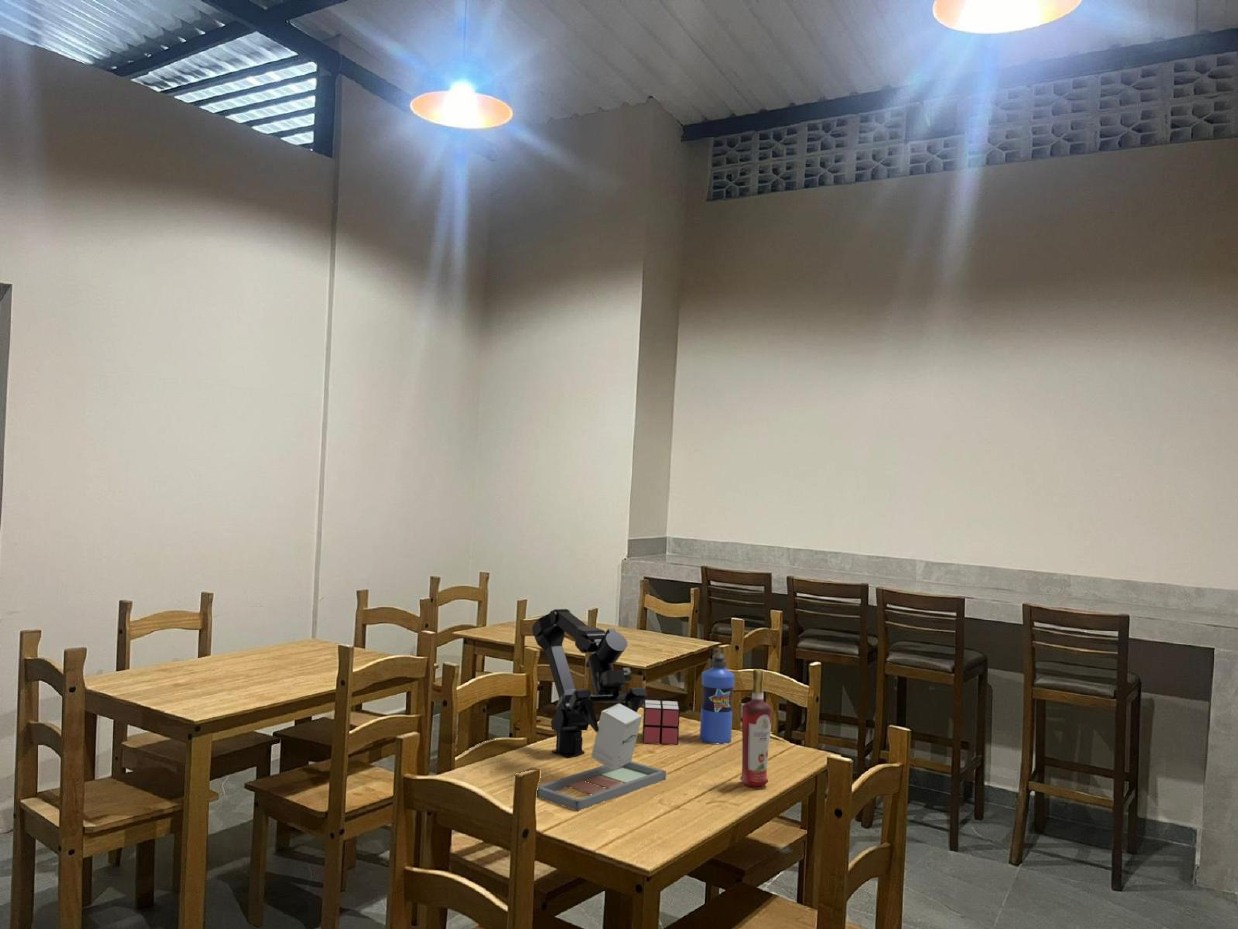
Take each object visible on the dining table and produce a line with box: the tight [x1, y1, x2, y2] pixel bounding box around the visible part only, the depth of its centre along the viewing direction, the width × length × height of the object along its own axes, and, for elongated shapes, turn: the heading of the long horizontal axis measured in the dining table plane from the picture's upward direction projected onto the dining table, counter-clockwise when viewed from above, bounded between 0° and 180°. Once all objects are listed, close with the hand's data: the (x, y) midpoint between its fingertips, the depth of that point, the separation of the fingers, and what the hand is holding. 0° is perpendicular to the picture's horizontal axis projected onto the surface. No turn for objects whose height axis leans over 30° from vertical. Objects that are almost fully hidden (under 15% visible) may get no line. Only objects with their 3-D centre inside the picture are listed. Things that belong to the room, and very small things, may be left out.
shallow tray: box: [536, 760, 667, 811], centre depth 213 cm, size 13×32×2 cm, turn 140°
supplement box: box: [590, 702, 643, 771], centre depth 215 cm, size 7×7×13 cm
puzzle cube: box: [641, 699, 681, 746], centre depth 257 cm, size 10×10×10 cm
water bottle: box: [699, 651, 735, 745], centre depth 260 cm, size 9×9×25 cm
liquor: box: [739, 668, 773, 789], centre depth 220 cm, size 7×7×28 cm
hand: (615, 730), depth 215 cm, fingers closed on supplement box, 9 cm apart
